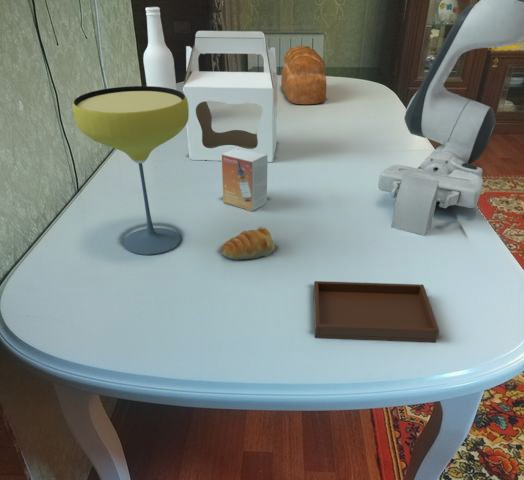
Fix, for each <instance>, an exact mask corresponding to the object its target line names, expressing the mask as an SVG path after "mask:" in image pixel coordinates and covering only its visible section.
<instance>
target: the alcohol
mask: <svg viewBox="0 0 524 480" xmlns="http://www.w3.org/2000/svg"><path fill="white" fill-rule="evenodd" d="M160 10H161V8H160V7H158V6H148V7H147V6H146V7H145V15H146V27H147V47H146V49H145V50H144V52H143V57H142V59H143V61H142V62H143V68H144V76H145V82H146V84H145V85H146V86H154V87H164V88H170V89H175V90H178V89H177V80H176V69H175V60H174V56H173V53H172V52H171V50H170V48H168V46H167V45H166V42H165V36H164V31H163V24H162V18H161V11H160Z"/></svg>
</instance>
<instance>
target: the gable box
mask: <svg viewBox="0 0 524 480" xmlns="http://www.w3.org/2000/svg"><path fill="white" fill-rule="evenodd" d="M201 54H202V55H206V54H232V55H236V54H237V55H261V56H262V59H263V71H243V70H242V71H241V70H240V71H239V70H236V71H235V70H234V71H232V70H200V63H199V62H200V61H199V57H200V55H201ZM185 61H186V63H185V64H186V65H185V67H186V70H185V71H186V73H185V76H184V81H183V85H182V90H183V91H182V93H184V94H185V96H186V98H187V102H188V109H189V116H188V122H187V124H186V125H185V126H186V135H187V142H188V143H187V146H188V158H189V160H190V161H205V160H207V161H208V162H209V161H210V162H222V154H224V153H226V152H228V151H231V150H233V149H236V148H240V149H243V150H247V151H251V152H256V153H260V154H267V155H268V157H267V163H274V158H275V154H276V150H277V134H278V133H277V130H278V129H277V128H278V126H277V125H278V74H277V73H278V70H277V52H276V46H271V47H269V45H268V44H267V41H266V35H265V33H264V32H263V31H261V30H198V31H196V33H195V37H194V44H193V45H192V46H191V45H186V46H185ZM207 102H218V103H223V104H228V105H242V104H243V105H244V104H254V105H257V106H259V107H260V108H261V110H262V111H261V116H260V119H259V122H258V125H257V129H256V133H251V132H249V131H246V130H242V129H232V130H226V131H222V132H216V131H214V130H213V128H212V123H213V122H212V121H213V117H212V112H211V109H210V106H209V105H208V103H207Z"/></svg>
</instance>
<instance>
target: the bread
mask: <svg viewBox="0 0 524 480" xmlns="http://www.w3.org/2000/svg"><path fill="white" fill-rule="evenodd" d="M325 72H326V66H325V61H324V59H323V57H322V56H320V54H319V53H318V52H317V50H315V49H313V48H311V47H310V46H308V45H307V46H306V45H297V46H295V47H291V48H290V49H289V50H287V51H286V54H285V55H284V57H283V68H282V70H281V76H280V78H281V81H280V82H281V85H280V86H281V89H282V92H283V94H284V95H285V98H286V99H287V100H288V102H289V103H292V104H293V105H318V104H322V103H325V100H326V98H327V76H326V74H325Z"/></svg>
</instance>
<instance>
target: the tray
mask: <svg viewBox="0 0 524 480" xmlns="http://www.w3.org/2000/svg"><path fill="white" fill-rule="evenodd" d="M313 282H314V284H313V318H314V320H313V321H314V322H313V323H314V325H313V326H314V338H316V339H317V338H319V339H342V340H343V339H344V340H365V341H366V340H369V341H393V342H419V343H422V342H423V343H436V342H437V340H438V336H439V333H440V329H439V326H438V323H437V320H436V318H435V315H434V312H433V308H432V305H431V303H430V300H429V297H428V295H427V291H426V289H425V286H424V284H418V283H417V284H416V283H415V284H414V283H409V284H408V283H385V282H354V281H327V280H326V281H321V280H319V281H318V280H315V281H313Z"/></svg>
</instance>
